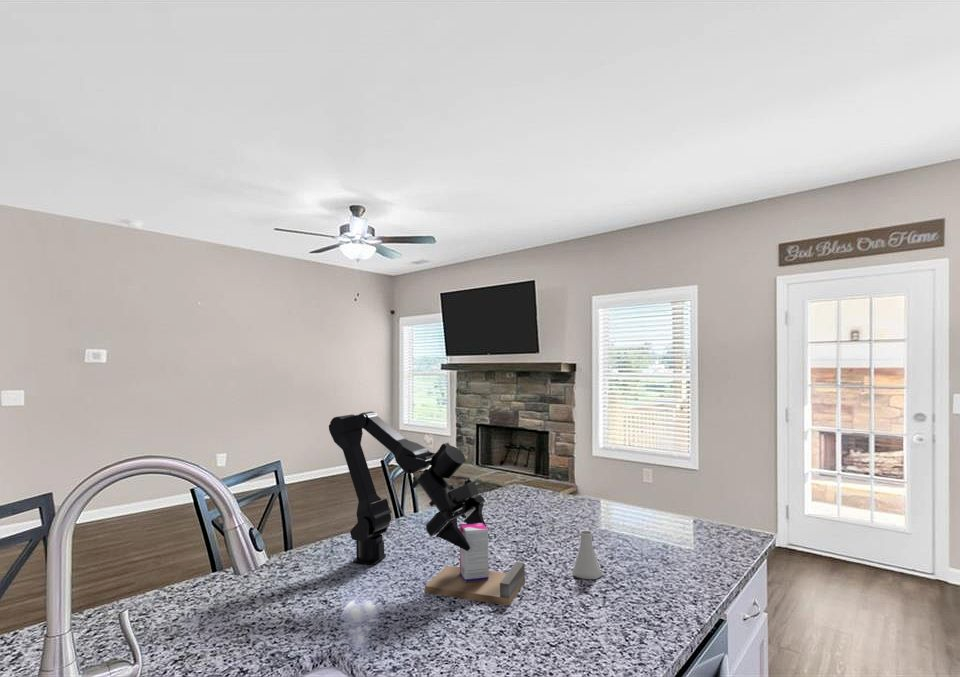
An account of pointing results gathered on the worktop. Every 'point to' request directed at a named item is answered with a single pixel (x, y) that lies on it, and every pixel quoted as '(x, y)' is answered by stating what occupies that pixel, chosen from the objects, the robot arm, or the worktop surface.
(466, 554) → the supplement box
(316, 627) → the worktop surface
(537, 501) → the worktop surface
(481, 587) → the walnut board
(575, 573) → the flask
